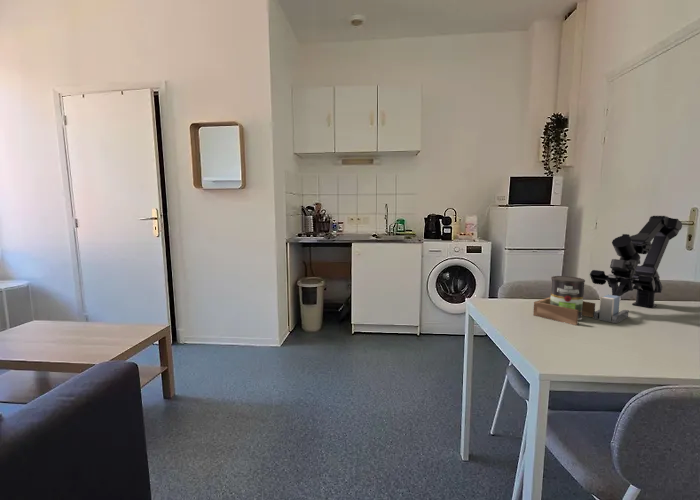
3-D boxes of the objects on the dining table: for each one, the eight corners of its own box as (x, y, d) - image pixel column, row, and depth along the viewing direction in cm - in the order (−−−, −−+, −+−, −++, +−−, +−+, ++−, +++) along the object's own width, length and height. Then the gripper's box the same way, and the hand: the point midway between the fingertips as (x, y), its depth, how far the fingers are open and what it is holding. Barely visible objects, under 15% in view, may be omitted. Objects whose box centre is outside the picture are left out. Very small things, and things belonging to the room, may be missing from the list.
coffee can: (583, 322, 122) (586, 282, 120) (549, 318, 126) (551, 279, 125) (580, 314, 131) (583, 277, 129) (548, 311, 135) (550, 274, 134)
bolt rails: (606, 312, 133) (606, 306, 132) (628, 317, 127) (628, 310, 127) (593, 318, 126) (593, 311, 125) (615, 323, 120) (616, 316, 120)
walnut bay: (553, 308, 139) (553, 295, 139) (594, 316, 128) (595, 303, 127) (533, 315, 130) (534, 302, 130) (575, 325, 119) (576, 310, 118)
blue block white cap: (606, 316, 129) (608, 294, 128) (618, 318, 126) (619, 296, 125) (598, 319, 125) (600, 297, 124) (610, 322, 122) (612, 299, 121)
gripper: (593, 248, 136) (579, 280, 130) (656, 253, 121) (642, 289, 115) (600, 267, 141) (586, 298, 136) (660, 274, 126) (648, 309, 121)
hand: (613, 298), depth 127 cm, fingers closed, pressing on blue block white cap
